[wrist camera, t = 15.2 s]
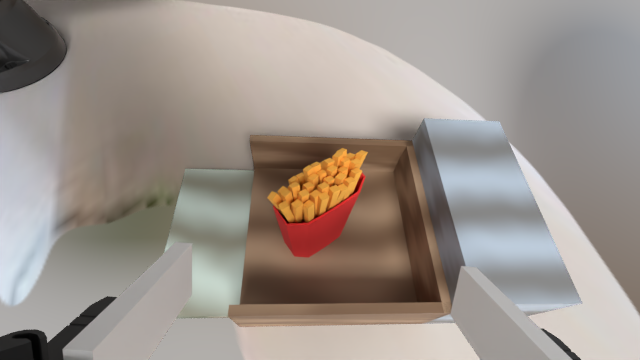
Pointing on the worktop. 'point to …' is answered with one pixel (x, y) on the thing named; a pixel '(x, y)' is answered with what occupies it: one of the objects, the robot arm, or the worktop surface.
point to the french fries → (318, 202)
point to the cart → (371, 233)
